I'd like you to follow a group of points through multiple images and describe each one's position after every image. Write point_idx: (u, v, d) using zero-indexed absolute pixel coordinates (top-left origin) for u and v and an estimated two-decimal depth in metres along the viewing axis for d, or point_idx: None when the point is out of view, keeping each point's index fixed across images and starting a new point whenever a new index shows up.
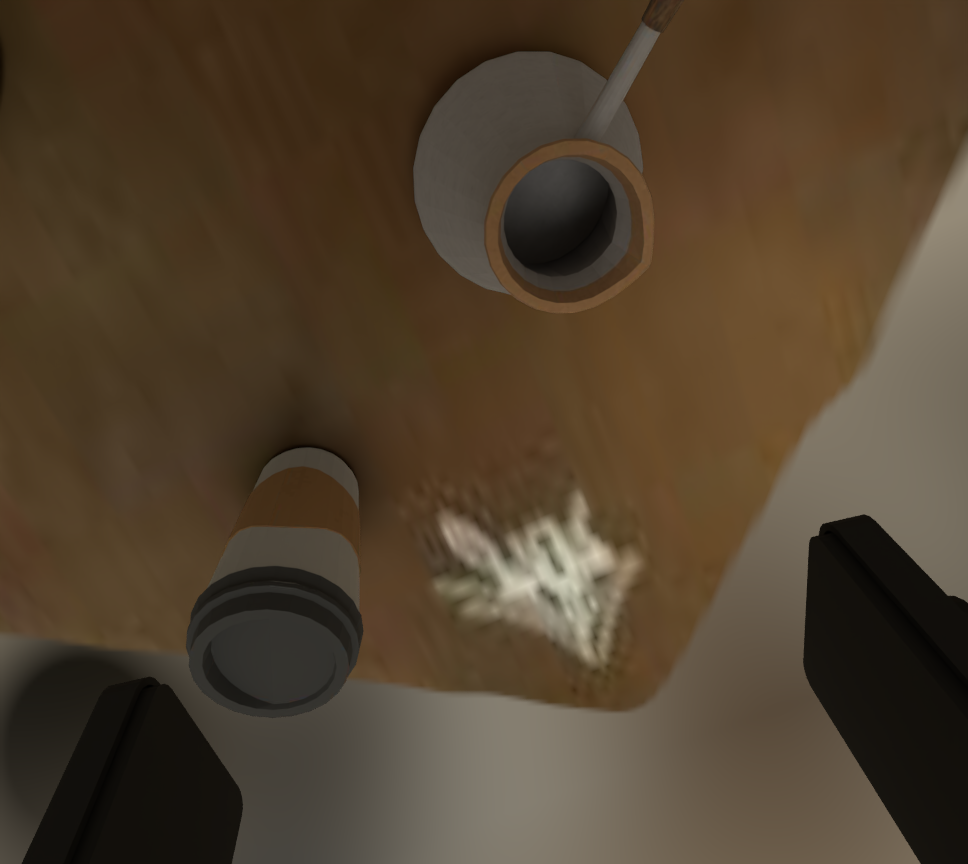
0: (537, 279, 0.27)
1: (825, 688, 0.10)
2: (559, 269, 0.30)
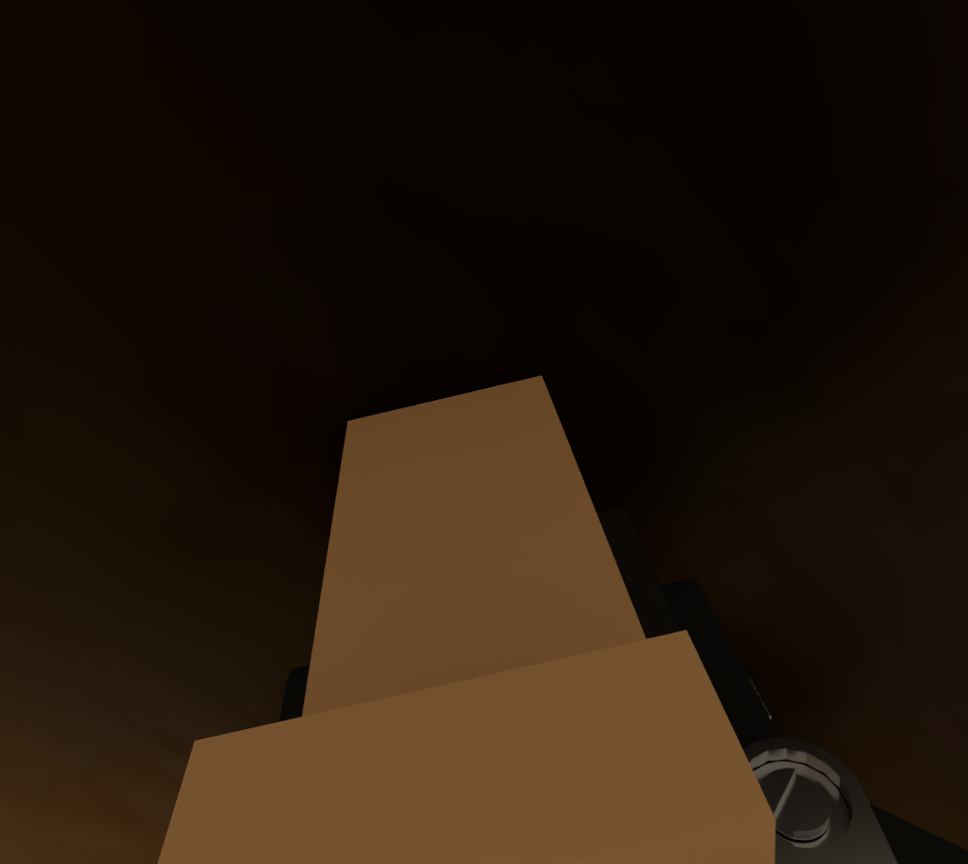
0: None
1: None
2: None
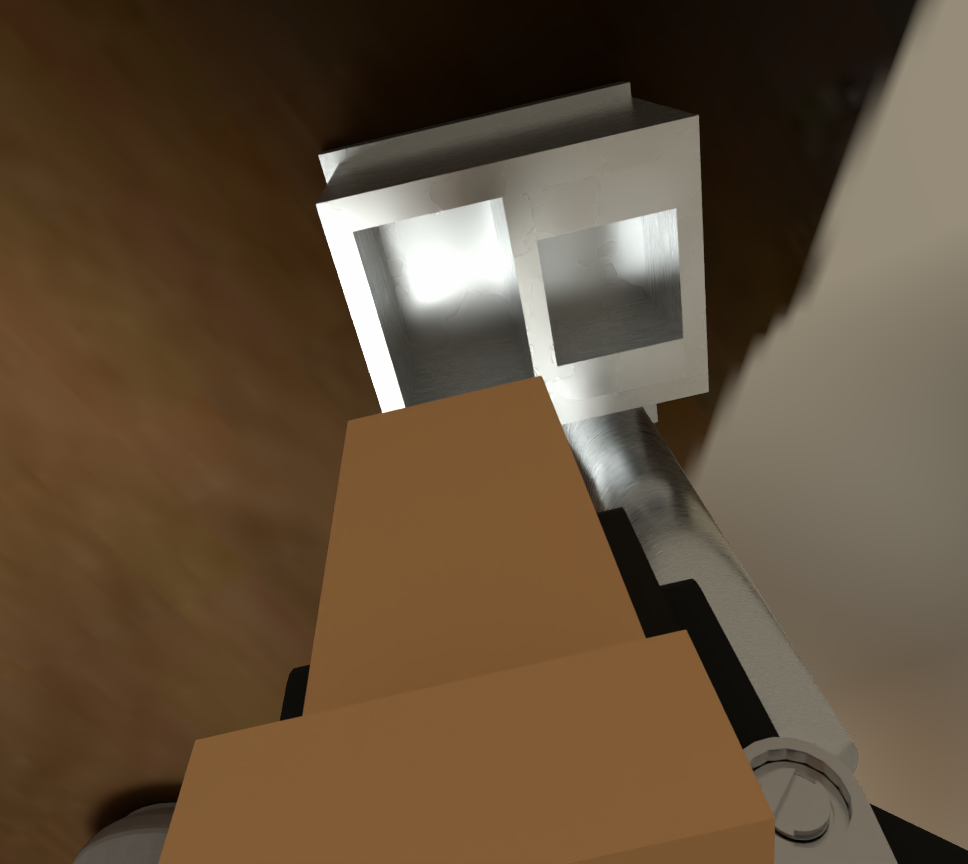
0: None
1: None
2: None
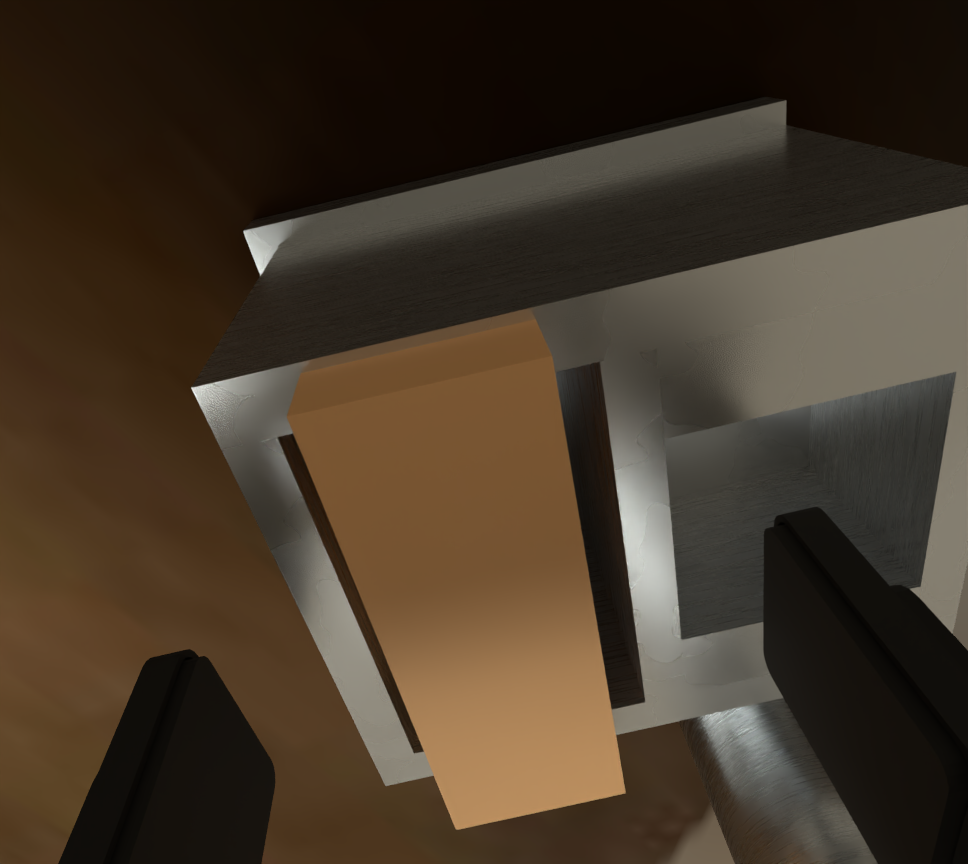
0: None
1: (782, 675, 0.10)
2: None
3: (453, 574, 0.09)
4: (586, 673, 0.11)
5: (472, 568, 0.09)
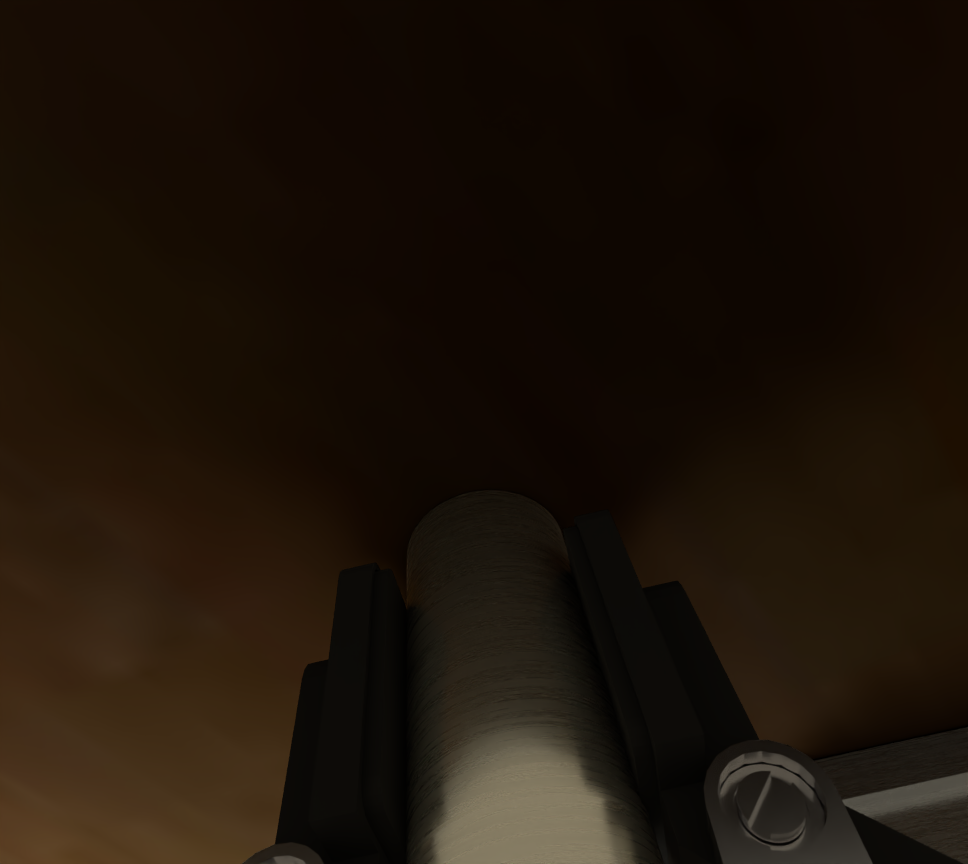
0: None
1: None
2: None
3: None
4: None
5: None
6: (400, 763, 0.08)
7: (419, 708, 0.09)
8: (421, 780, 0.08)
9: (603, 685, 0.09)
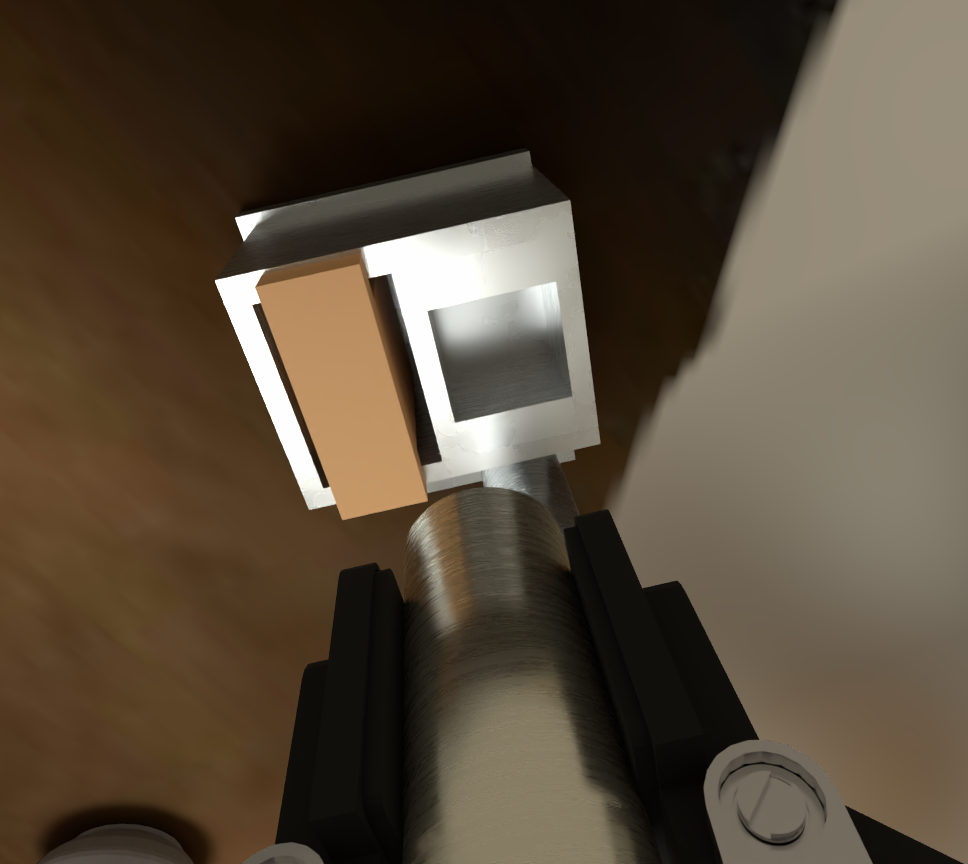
0: None
1: None
2: None
3: (327, 365, 0.22)
4: (396, 423, 0.23)
5: (336, 362, 0.22)
6: (400, 763, 0.08)
7: (415, 705, 0.08)
8: (417, 778, 0.08)
9: (601, 682, 0.09)
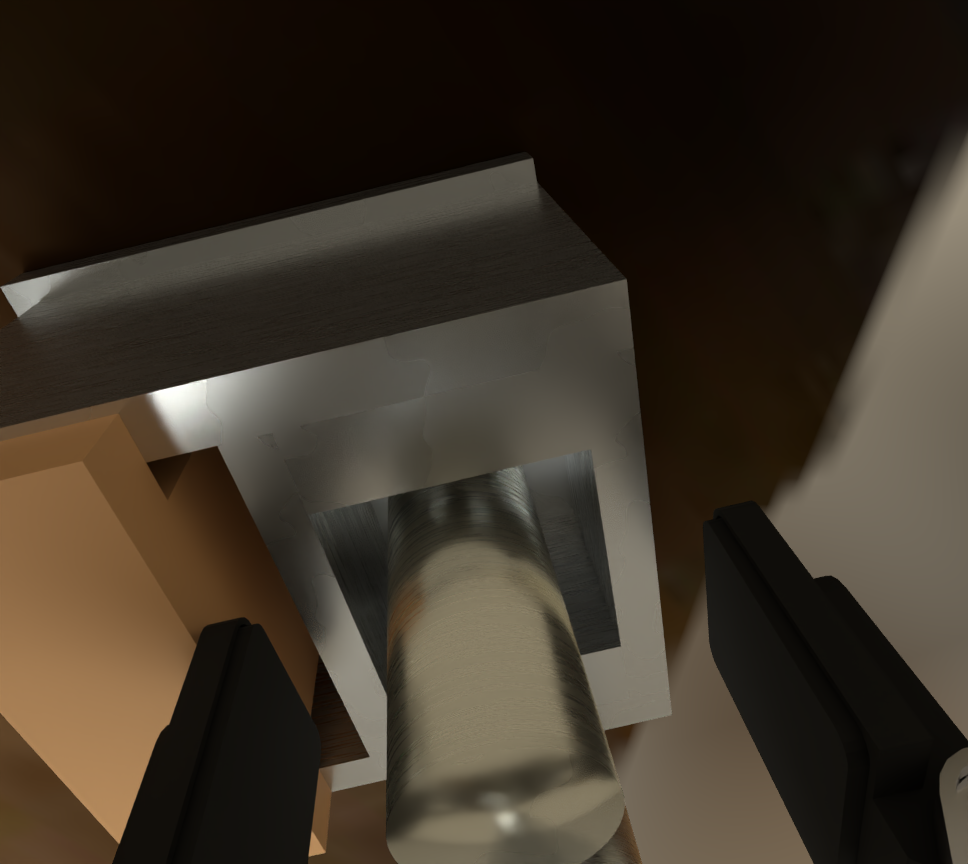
0: None
1: (724, 664, 0.10)
2: None
3: (60, 659, 0.10)
4: None
5: (78, 653, 0.10)
6: (234, 842, 0.08)
7: (397, 546, 0.11)
8: (398, 586, 0.10)
9: (537, 529, 0.11)
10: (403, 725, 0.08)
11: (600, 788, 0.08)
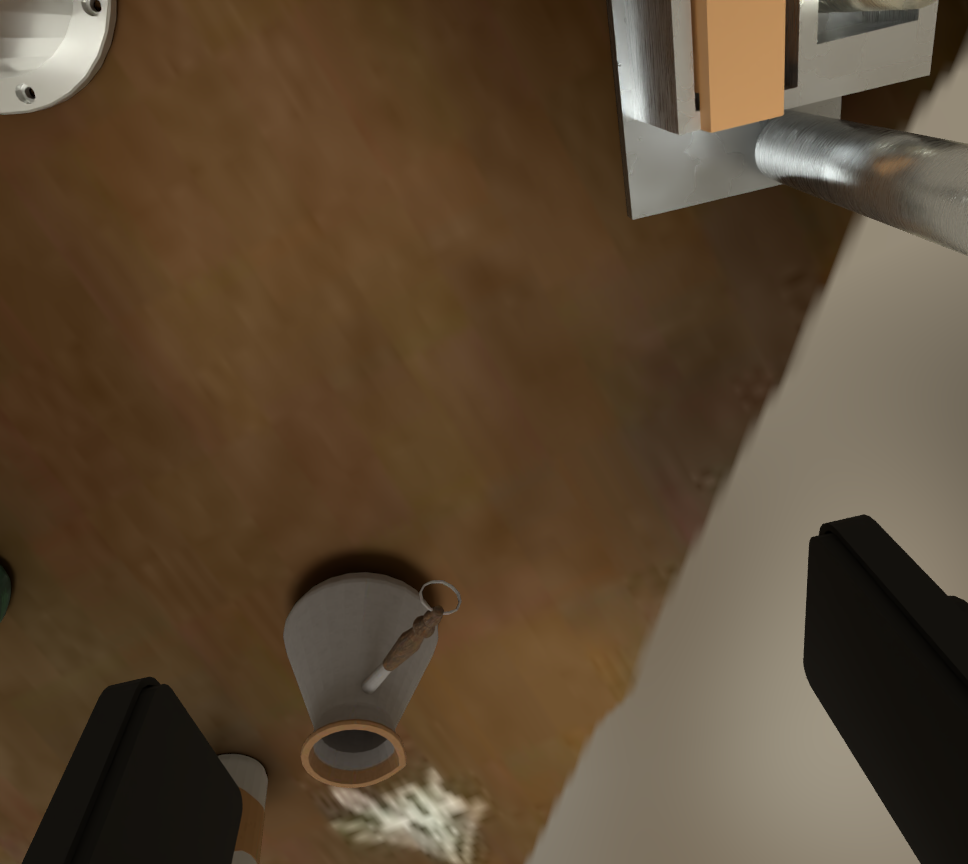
0: (343, 760, 0.45)
1: (825, 688, 0.10)
2: None
3: None
4: (777, 26, 0.28)
5: None
6: None
7: None
8: None
9: None
10: None
11: None
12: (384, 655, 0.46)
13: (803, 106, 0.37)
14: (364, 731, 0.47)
